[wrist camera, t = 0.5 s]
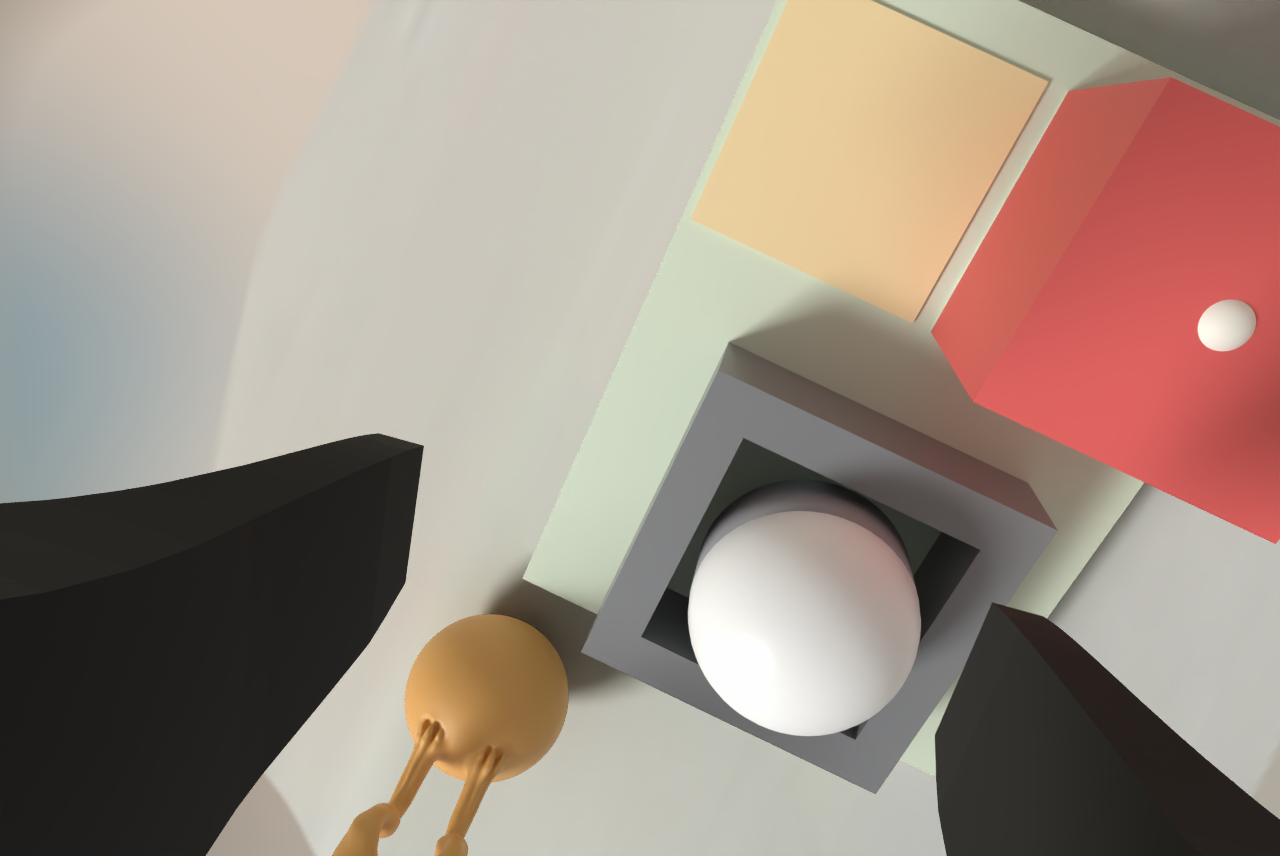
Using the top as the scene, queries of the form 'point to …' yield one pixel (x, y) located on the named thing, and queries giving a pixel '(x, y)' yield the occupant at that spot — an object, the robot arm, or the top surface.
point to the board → (847, 272)
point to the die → (1139, 296)
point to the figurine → (472, 721)
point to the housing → (861, 460)
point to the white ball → (804, 608)
